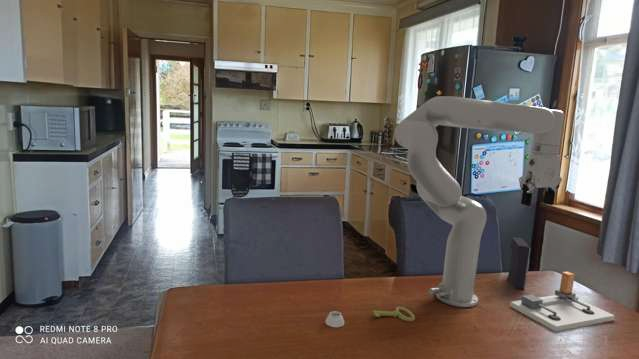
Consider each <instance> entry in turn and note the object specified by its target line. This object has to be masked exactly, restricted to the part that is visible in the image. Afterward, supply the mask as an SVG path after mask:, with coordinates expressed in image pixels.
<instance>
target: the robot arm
mask: <svg viewBox="0 0 639 359" xmlns="http://www.w3.org/2000/svg"><path fill="white" fill-rule="evenodd" d="M564 120H565V113H564V111H562V110H559V109H550V108H547V107H541V106H532V105H523V104H515V103H506V102H501V101H497V100H496V101H494V100H487V99H477V98H471V97H470V98H469V97H462V96H448V95H447V96H441V95H439V96H434V97H432V98H430V99H428V100H427V101H425V102H423V104H421V105H420V106H419V107H417V109H415V110H414V111H413V112H412V113H410V114H409V115H408V116H406V117H404V119H402V120H401V121H400V122H399V123H398V125H397V126H396V128H395V130H394V131H395V132H394V139H395V141H396V143H398V145H399V146H400V147H403V148H405V149H407V156H406V158H407V159H406V161H407V169H408V172H409V173H410V175H411V177H413V179H414V180H415V181H416V191H417V194H418V195H419V197H420V198H421V200H422V201H424V202H425V204H426V205H427V206H428V207H429V208H430V209H431V210H432V211H433V212H434V213H435V214H436V215H437V216H438V217H439V218H440V219H441V220H443V221H444V222H446V223H448V224H449V225H451V226H452V228H451V229H450V232H449V234H448V236H447V240H446V247H445V256H444V265H443V274H442V282H439V285H438V286H437V287H429V288H428V294H429V295H435V297H436V298H437V299H438V300H439V301H441V302H442V303H444V304H447V305H449V306H454V307H457V308H458V307H460V308H471V307H475V306H477V305H478V303H479V297H478V296H477V295H476V294H475V293H474V292H475V291H474V290H475V283H476V276H477V269H478V261H479V254H480V253H479V252H480V246H481V239H482V236H483V231H484V229H485V226H486V223H487V212H486V209H485V208H484V206H483V205H482V204H481V203H480V202H478V201H476V200H475V199H472V198H469V197H465V196H463V195H462V194H463V192H462V188H461V185H460V183H459V182H458V181H457V180H456V179H455V178H454V177H453V176H452V175H451V174H450V172H449V171H447V169H446V168H445V167H444V166H443V165H442V163H441V162H440V161H439V159H438V158H437V153H436V152H437V147H438V142H439V133H438V130H437V127H438V126H444V127H445V126H446V127H452V128H453V127H454V128H462V129H463V128H464V129H474V130H481V131H495V132H496V131H497V132H498V131H499V132H500V131H502V132H517V133H518V132H520V133H529V134H533V136H532V144H531V145H532V146H531V148H530V149H531V153H530V154H529V156H528V161H527V164H526V167H525V168H526V169H525V172H524V173H525V174H523V175H521V176H520V177H518V182H519V188H520V189H521V190H520V192H522V194H521V201H520V204H521V205H523V206H527V207H530V206H531V205H532V199H533V193H532V191H533V190H534V189H535V188H541V189H542V188H545V189H546V190H545V191H544V197H543V204H546V205H549V206H553V205H554V202H555V197H556V193H557V192H558V189H559V187H561V186H560V185H561V183H562V181H563V178H562V177H561V176H560V173H561V171H560V170H561V156H560V155H559V154H560V152H559V151H560V146H561V141H562V134H563V126H564Z"/></svg>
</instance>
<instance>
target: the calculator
mask: <svg viewBox="0 0 639 359" xmlns="http://www.w3.org/2000/svg"><path fill="white" fill-rule="evenodd" d="M510 249H511V254H510V260H509V270H508V273H507V274H508V275H507V276H508V280H509V281H510V283H511V285H512V286H513V288H514V290H515V289H516V290H524V289H526V287H527V286H526V285H527V280H528V272H529V265H530V255H531V247H530V246H529V244H528V243H527V242H526V241H525V239H523V238H522V237H521V238H520V237H511V241H510Z"/></svg>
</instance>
